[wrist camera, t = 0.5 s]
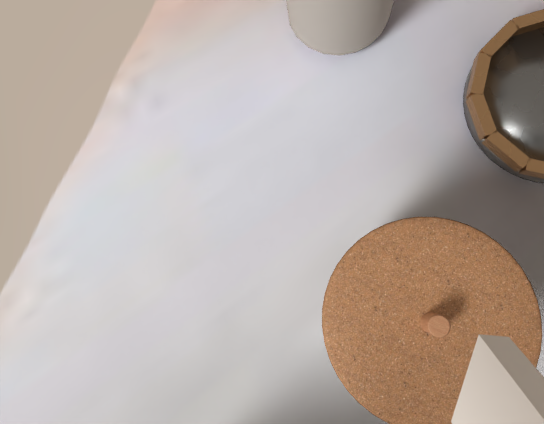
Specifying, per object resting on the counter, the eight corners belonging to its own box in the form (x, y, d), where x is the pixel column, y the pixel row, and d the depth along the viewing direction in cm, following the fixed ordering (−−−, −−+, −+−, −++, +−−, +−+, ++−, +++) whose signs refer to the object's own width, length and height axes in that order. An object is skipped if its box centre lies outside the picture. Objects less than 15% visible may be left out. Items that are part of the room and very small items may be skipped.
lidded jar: (357, 207, 31) (374, 177, 21) (507, 269, 29) (596, 266, 20) (295, 350, 30) (286, 383, 20) (448, 423, 28) (513, 495, 19)
